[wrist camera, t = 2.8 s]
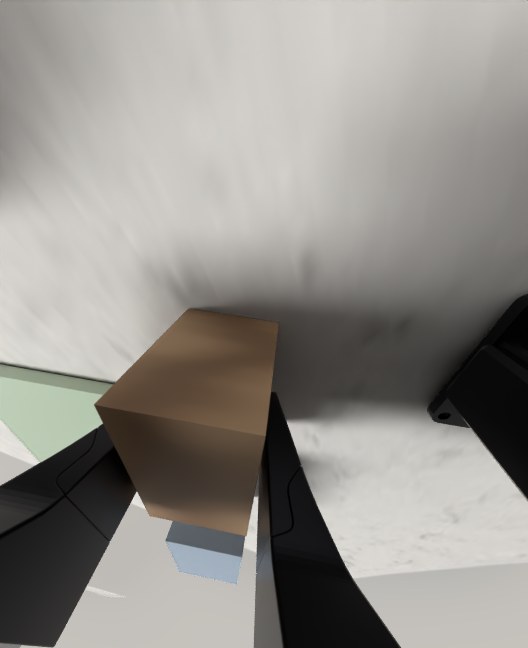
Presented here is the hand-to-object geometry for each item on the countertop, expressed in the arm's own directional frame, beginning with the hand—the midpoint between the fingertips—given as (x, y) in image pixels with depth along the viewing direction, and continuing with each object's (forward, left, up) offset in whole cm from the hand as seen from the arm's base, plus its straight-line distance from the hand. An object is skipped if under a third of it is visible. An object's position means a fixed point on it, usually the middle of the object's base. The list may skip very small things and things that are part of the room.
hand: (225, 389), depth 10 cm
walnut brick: (0, 0, -1) cm, 1 cm away
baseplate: (+11, +8, -1) cm, 14 cm away
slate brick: (0, +11, -1) cm, 11 cm away
